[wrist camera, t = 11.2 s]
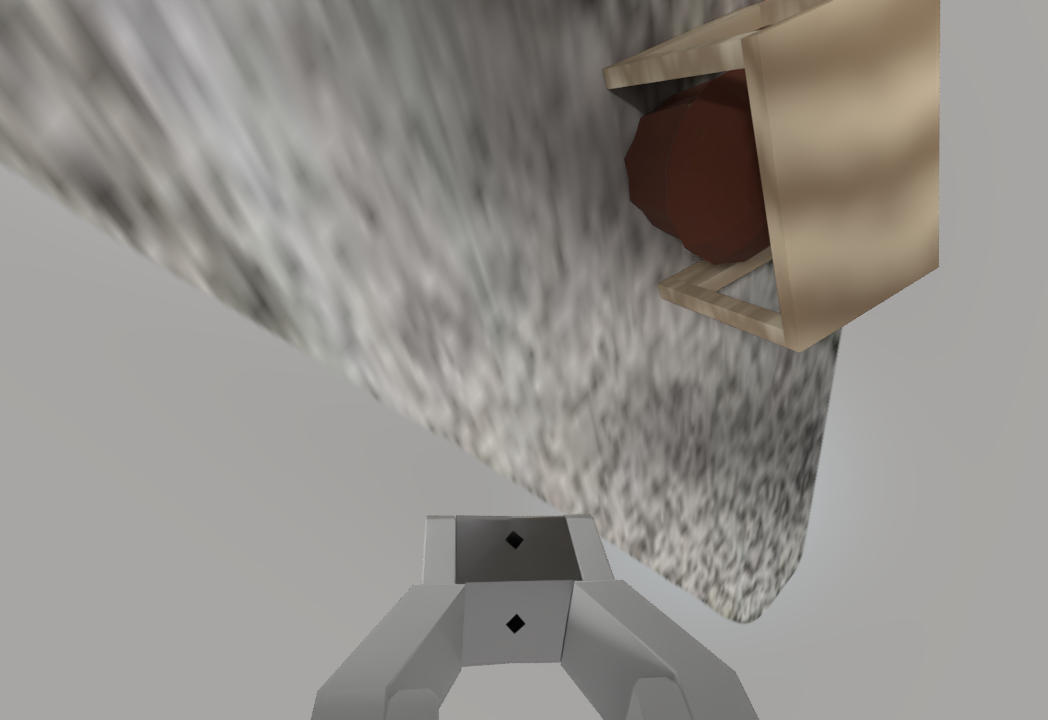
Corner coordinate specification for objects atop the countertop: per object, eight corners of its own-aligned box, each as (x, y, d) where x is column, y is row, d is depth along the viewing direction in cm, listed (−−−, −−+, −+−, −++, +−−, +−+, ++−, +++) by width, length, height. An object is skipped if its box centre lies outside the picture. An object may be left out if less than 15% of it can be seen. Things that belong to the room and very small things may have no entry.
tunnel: (602, 69, 35) (757, 35, 24) (740, 8, 37) (940, -49, 26) (661, 298, 43) (799, 353, 32) (772, 236, 45) (938, 267, 34)
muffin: (686, 32, 37) (814, -2, 28) (767, 150, 42) (895, 153, 34) (574, 180, 37) (667, 192, 28) (670, 278, 43) (772, 312, 34)
